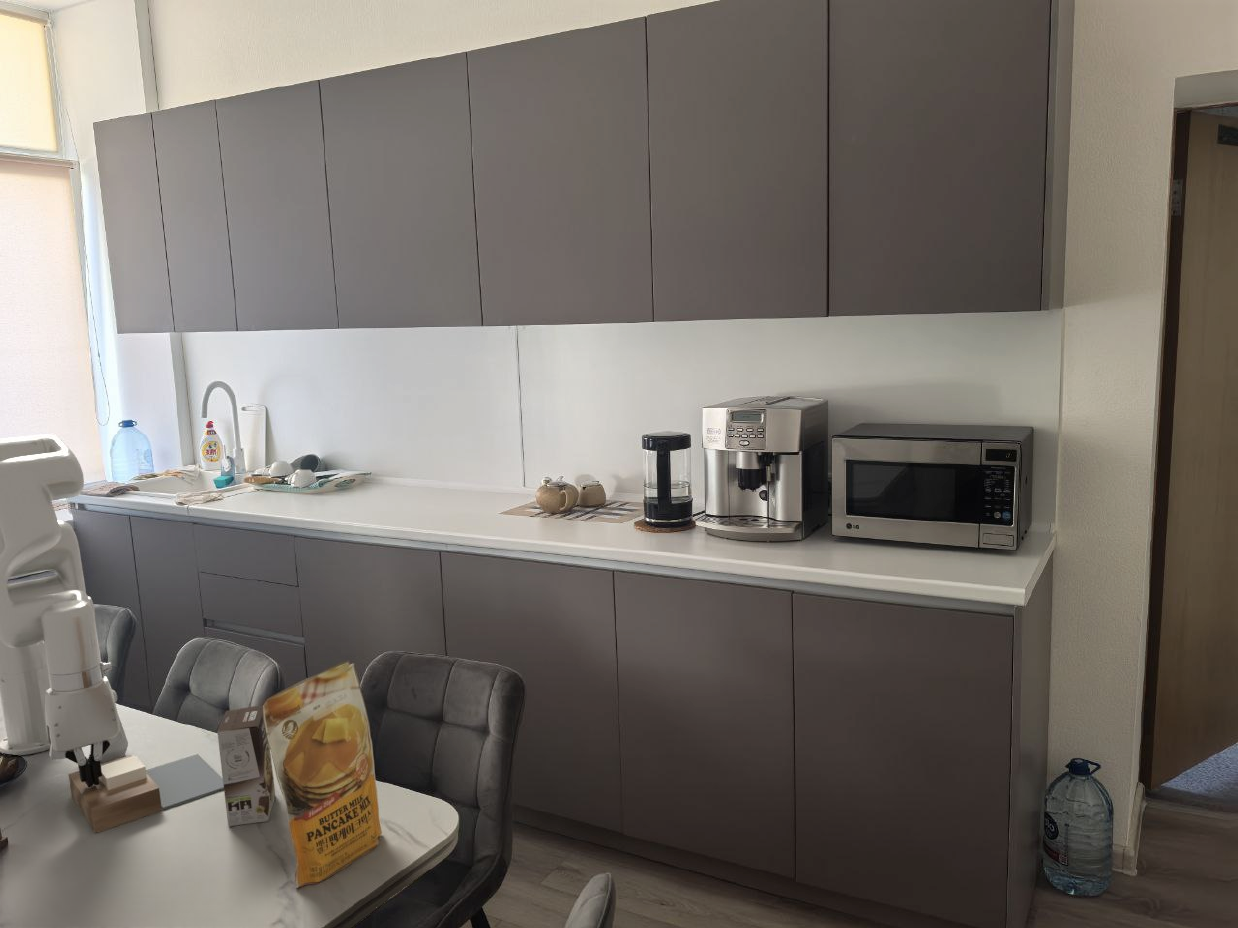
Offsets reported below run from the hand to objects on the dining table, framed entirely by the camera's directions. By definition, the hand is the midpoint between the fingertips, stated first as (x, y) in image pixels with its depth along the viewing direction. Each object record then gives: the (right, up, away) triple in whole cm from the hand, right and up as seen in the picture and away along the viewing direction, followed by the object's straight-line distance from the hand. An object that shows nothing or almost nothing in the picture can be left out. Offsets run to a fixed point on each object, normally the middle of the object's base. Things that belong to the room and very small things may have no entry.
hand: (92, 782), depth 165 cm
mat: (+11, -3, +9) cm, 15 cm away
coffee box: (+27, -4, -2) cm, 28 cm away
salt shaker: (-7, -2, +20) cm, 21 cm away
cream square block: (+4, +1, +3) cm, 5 cm away
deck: (+3, -4, +3) cm, 6 cm away
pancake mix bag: (+45, -6, -18) cm, 49 cm away
